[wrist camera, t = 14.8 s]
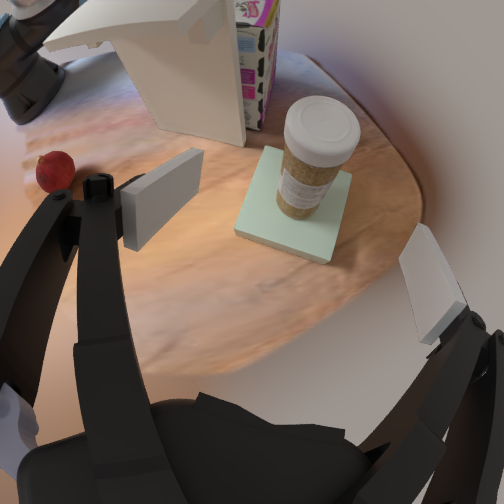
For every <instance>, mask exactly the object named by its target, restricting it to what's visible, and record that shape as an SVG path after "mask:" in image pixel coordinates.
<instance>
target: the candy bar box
mask: <svg viewBox="0 0 504 504" xmlns="http://www.w3.org/2000/svg"><path fill="white" fill-rule="evenodd" d="M234 10H235V21H236V31H237V42H238V53H239V63H240V74H241V85H242V96H243V107H244V118H245V129H251V130H259V131H261V130H262V127H263V123H264V119H265V115H266V111H267V106H268V102H269V98H270V94H271V90H272V86H273V82H274V78H275V71H276V56H277V40H278V27H279V14H280V0H234Z"/></svg>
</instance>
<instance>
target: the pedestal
mask: <svg viewBox="0 0 504 504" xmlns="http://www.w3.org/2000/svg"><path fill="white" fill-rule="evenodd" d="M283 153H284V150H280V149H277V148H274V147H270V146H267V145H265V148H264V150H263V153H262V155H261V158H260V161H259V163H258V166H257V168H256V171H255V173H254V176H253V179H252V181H251V184H250V186H249V189H248V192H247V194H246V197H245V200H244V202H243V205H242V208H241V210H240V213H239V216H238V218H237V221H236V224H235V226H234V231H235V233H236V235H237V236H240V237H243V238H246V239H249V240H252V241H255V242H258V243H261V244H264V245H267V246H270V247H273V248H276V249H279V250H282V251H285V252H288V253H291V254H294V255H297V256H300V257H303V258H306V259H309V260H312V261H314V262H317V263H320V264H323V265H324V264H326V263H327V262H329V261H330V260H331V257H332V253H333V250H334V246H335V243H336V239H337V236H338V232H339V228H340V224H341V220H342V216H343V212H344V208H345V204H346V200H347V196H348V192H349V187H350V183H351V179H352V174H351V173H348V172H345V171H343V170H339V173H338V175H337V177H336V178H335V180H334V182H333V183H332V185H331V187H330V188H329V190H328V192H327V193H326V195H325V197H324V198H323V200H322V201H321V202H320V204H319V207H318V209H317V210H316V211H315V213H314V214H313V215H311V216H310V217H308V218H305V219H293V218H290V217H288V216H287V215H285V214H284V213H282V211H281V210H280V209H279V207H278V205H277V202H276V192H277V190H278V181H279V174H280V168H281V165H282V158H283Z"/></svg>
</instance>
